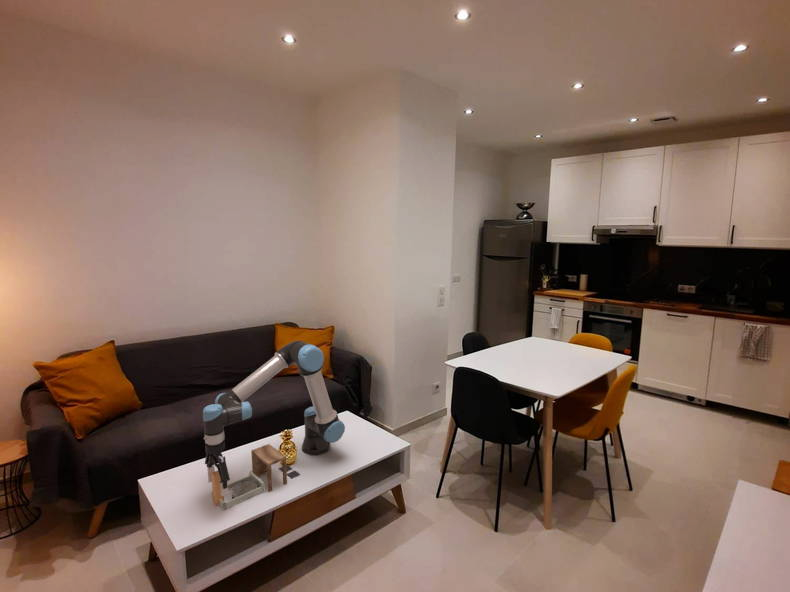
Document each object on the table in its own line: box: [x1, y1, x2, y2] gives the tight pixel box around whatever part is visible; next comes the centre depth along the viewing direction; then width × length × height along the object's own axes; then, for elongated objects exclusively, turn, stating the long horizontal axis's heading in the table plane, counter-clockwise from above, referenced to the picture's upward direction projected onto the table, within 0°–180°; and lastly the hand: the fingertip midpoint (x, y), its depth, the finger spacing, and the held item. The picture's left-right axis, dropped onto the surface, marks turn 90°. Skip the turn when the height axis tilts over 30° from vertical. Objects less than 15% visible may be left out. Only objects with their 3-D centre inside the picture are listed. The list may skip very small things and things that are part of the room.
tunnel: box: [251, 443, 288, 493], centre depth 194 cm, size 9×16×14 cm, turn 45°
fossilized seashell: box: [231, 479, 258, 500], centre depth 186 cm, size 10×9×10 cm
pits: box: [278, 465, 301, 480], centre depth 203 cm, size 5×12×1 cm, turn 45°
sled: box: [211, 470, 265, 510], centre depth 183 cm, size 20×12×14 cm, turn 135°
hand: (218, 487), depth 178 cm, fingers open, 13 cm apart
